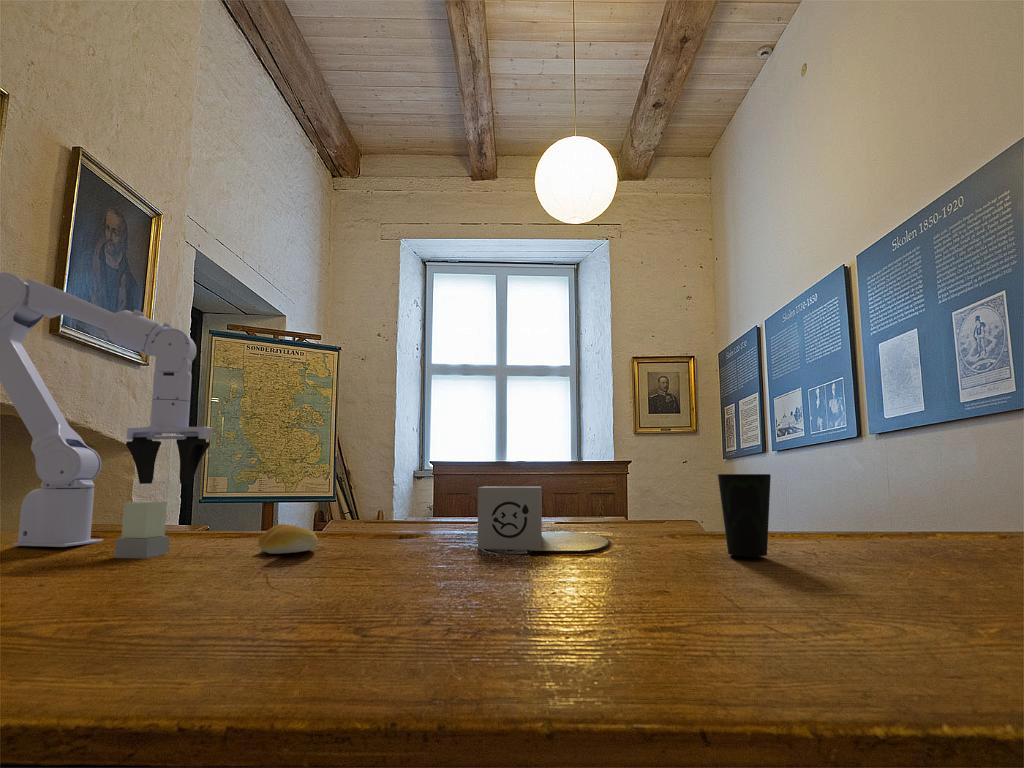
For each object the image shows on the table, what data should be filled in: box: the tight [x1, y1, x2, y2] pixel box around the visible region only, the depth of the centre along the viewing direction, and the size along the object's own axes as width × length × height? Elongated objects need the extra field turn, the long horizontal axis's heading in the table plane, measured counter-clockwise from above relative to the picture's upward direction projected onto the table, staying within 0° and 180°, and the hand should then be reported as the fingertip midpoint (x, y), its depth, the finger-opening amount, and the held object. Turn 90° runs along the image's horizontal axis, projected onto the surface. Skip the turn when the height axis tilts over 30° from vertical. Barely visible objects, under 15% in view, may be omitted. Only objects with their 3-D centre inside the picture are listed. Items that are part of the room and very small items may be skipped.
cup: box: [717, 473, 772, 557], centre depth 104 cm, size 8×8×12 cm
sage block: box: [121, 501, 168, 538], centre depth 101 cm, size 4×4×5 cm
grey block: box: [114, 535, 170, 560], centre depth 101 cm, size 5×5×3 cm
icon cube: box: [477, 485, 543, 551], centre depth 112 cm, size 10×10×10 cm
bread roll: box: [257, 523, 319, 555], centre depth 103 cm, size 8×9×4 cm
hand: (165, 483), depth 111 cm, fingers open, 7 cm apart
